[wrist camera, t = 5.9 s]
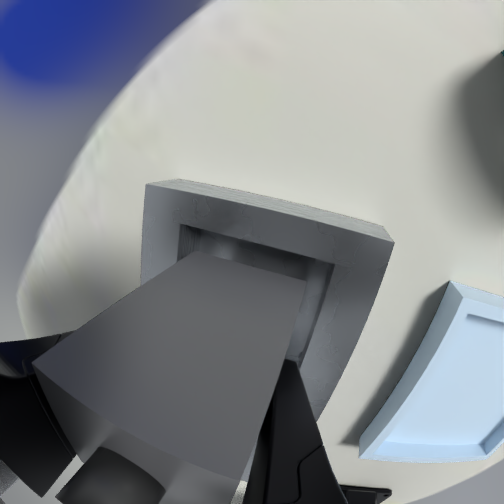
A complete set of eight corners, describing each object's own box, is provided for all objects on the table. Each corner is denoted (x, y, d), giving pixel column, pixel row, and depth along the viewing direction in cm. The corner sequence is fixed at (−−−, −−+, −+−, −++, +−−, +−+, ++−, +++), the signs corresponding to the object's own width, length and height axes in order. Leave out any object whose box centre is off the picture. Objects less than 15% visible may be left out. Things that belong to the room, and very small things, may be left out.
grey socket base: (280, 462, 17) (245, 563, 8) (169, 423, 19) (109, 507, 10) (382, 226, 11) (478, 389, 2) (178, 178, 12) (-15, 222, 4)
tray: (482, 443, 12) (486, 459, 10) (359, 437, 14) (358, 458, 13) (568, 318, 8) (581, 332, 6) (449, 280, 10) (463, 297, 9)
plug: (280, 370, 11) (193, 576, 3) (187, 339, 11) (51, 495, 4) (306, 281, 9) (195, 574, 1) (195, 250, 10) (-26, 406, 2)
